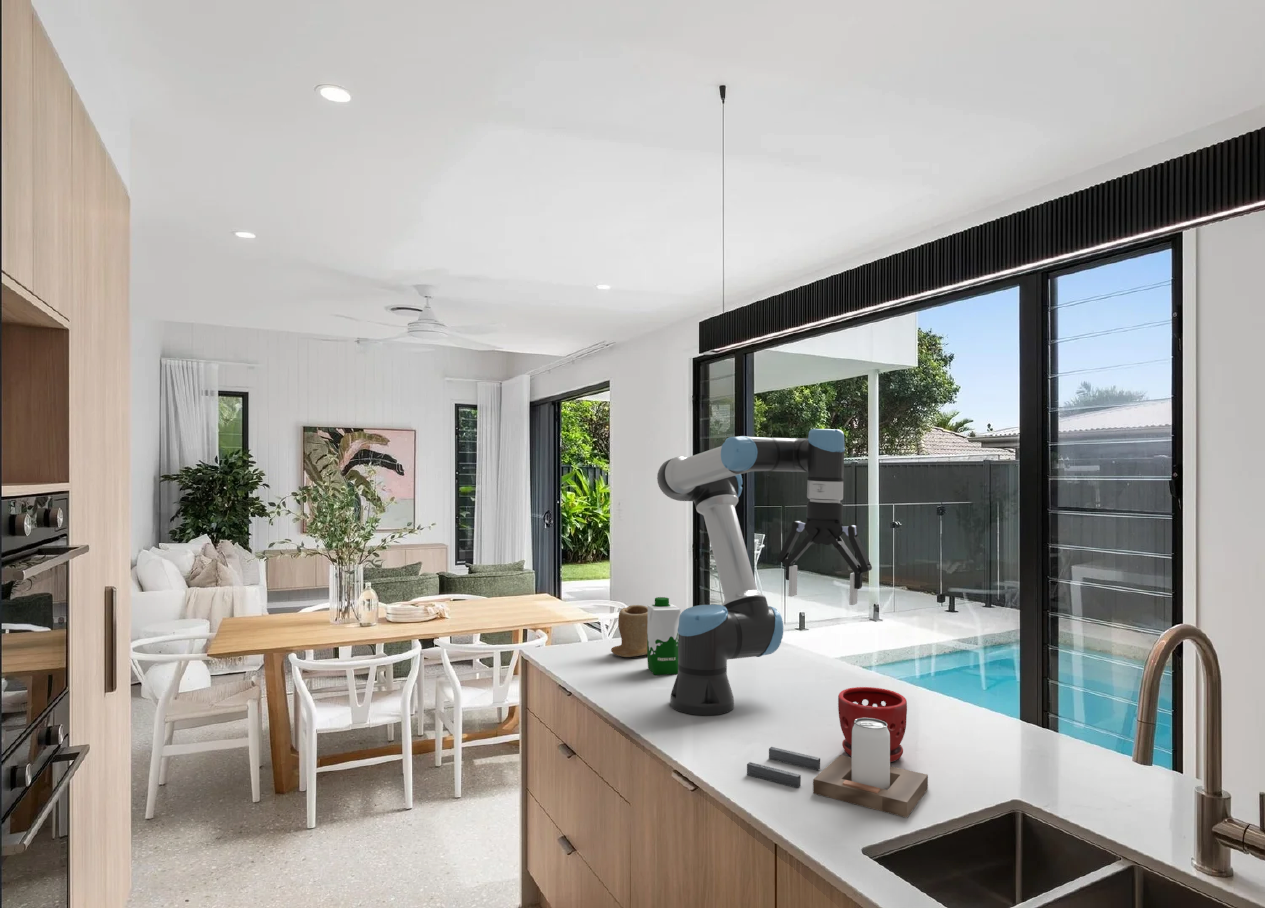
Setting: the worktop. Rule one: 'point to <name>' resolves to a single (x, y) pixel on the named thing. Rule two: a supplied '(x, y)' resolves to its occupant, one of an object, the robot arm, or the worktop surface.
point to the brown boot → (632, 631)
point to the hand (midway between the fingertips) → (822, 599)
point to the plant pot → (873, 714)
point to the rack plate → (871, 788)
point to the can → (871, 753)
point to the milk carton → (662, 637)
